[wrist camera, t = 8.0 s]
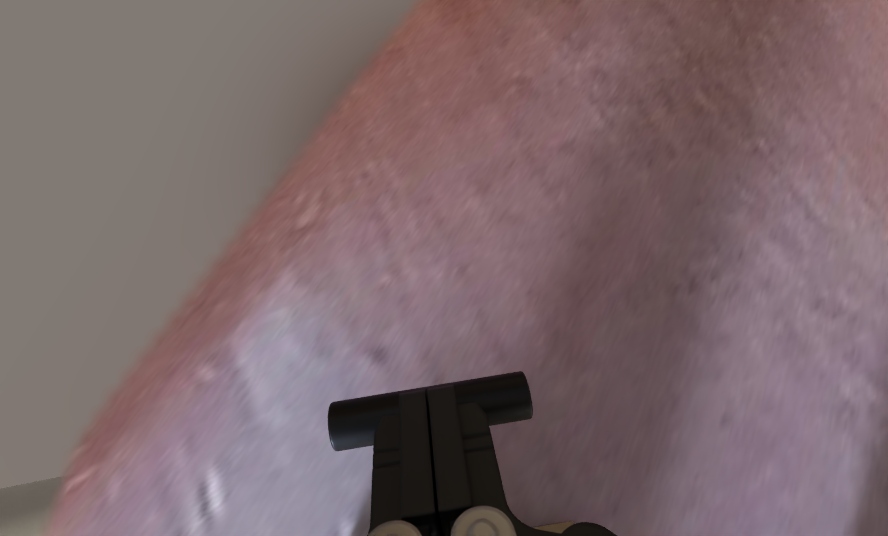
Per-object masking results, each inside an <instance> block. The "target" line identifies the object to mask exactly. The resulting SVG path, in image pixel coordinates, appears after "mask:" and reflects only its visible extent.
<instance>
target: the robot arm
mask: <svg viewBox="0 0 888 536" xmlns="http://www.w3.org/2000/svg"><path fill="white" fill-rule="evenodd" d="M428 401H429V403H428ZM373 451H374V454H373V472H372V495H371V519H370V529H369V532H368V535H367V536H617V535H615V534H614V533H612V532H611V531H610V530H608V529H606V528H605V527H603V526H601V525H598V524H595V523H589V522H581V523H576V524H573V525H571V526H569V527H568V528H566V529H565V530H564V531H563V532H562V533H556V532H550V531H544V530H539V529H535V528H532V527H530V526H527V525H526V524H524V523H522V522H521V521H520V520H518V519H517V518H516V517H515V516H514V515H513V513H512V512H511V510H510V509H509V507H508V505H507V502H506V498H505V494H504V489H503V485H502V480H501V476H500V472H499V467H498V463H497V458H496V454H495V450H494V445H493V441H492V436H491V432H490V428H489V423H488V419H487V414H486V413H485V412H484V411H483V409H482V408H481V407H480V406H479V405H478V403H477V402H476V401H472V402H466V403H460V404H456V398H455V392H454V386H453V385H448V386H442V387H436V388H430V389H428V398H427V393H426V390H425V389H424V390H418V391H412V392H406V393H400V394H399V414H394V415H388V416H382V418H381V420H380V422H379V424H378V426H377V428H376V430H375V432H374V448H373Z"/></svg>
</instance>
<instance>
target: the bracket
mask: <svg viewBox="0 0 888 536" xmlns="http://www.w3.org/2000/svg"><path fill="white" fill-rule="evenodd" d="M573 524H574V522H572V521H569V522H563V523H557V524H551V525H545V526H540V527H534V528H535V529H539V530H544V531H550V532H556V533H562V532H563V531H564V530H565V529H566V528H568V527H569V526H571V525H573Z"/></svg>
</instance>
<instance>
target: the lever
mask: <svg viewBox="0 0 888 536" xmlns="http://www.w3.org/2000/svg"><path fill="white" fill-rule="evenodd" d="M448 385H453V386H454V392H455V398H456V404H460V403H466V402H472V401H476V402H477V403H478V405H479V406H480V407H481V408H482V409H483V411H484V412H485V413H486V414H487V419H488V423H489V426H492V425H498V424H504V423H510V422H516V421H522V420H528V419H531V418H532V416H533V407H532V400H531V394H530V390H529V386H528V382H527V379H526V376H525V374H524V373H523V372H522V371H519V372H513V373H507V374H501V375H495V376H489V377H483V378H477V379H471V380H464V381H458V382H452V383H446V384H440V385H434V386H428V387H422V388H416V389H410V390H404V391H398V392H391V393H385V394H379V395H373V396H367V397H361V398H355V399H349V400H343V401H337V402H333V403H331V404H330V407H329V411H328V430H329V437H330V441H331V444H332V447H333V449H334V450H335V451H342V450H348V449H354V448H360V447H366V446H372V445H374V432H375V430H376V428H377V426H378V424H379V422H380V420H381V418H382V416H388V415H394V414H399V394H400V393H406V392H412V391H418V390H424V389H425V390H426V393H427V398H428V389H430V388H436V387H442V386H448ZM428 403H429V401H428Z"/></svg>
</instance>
